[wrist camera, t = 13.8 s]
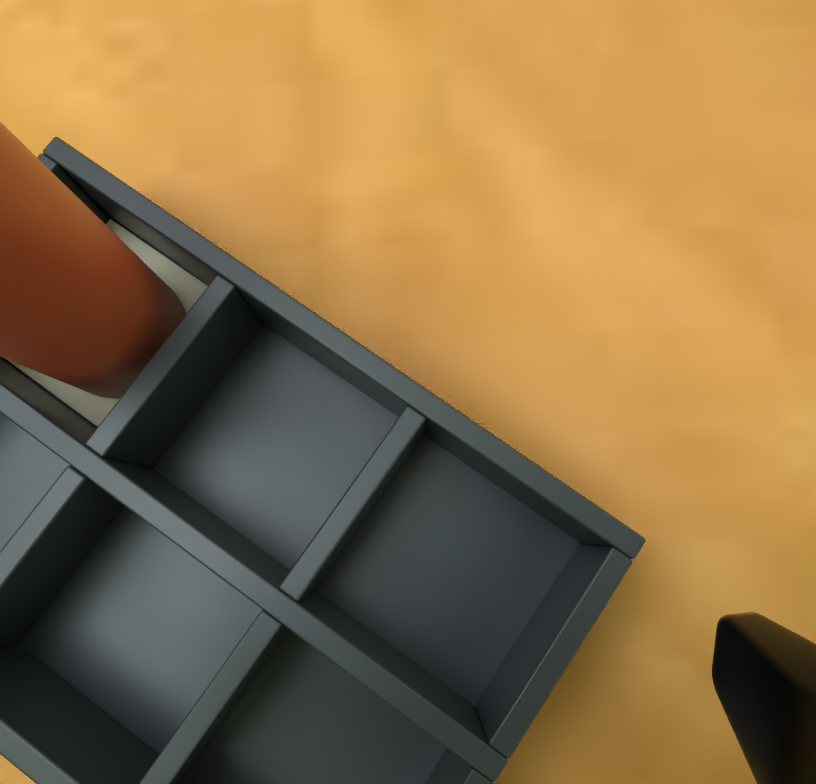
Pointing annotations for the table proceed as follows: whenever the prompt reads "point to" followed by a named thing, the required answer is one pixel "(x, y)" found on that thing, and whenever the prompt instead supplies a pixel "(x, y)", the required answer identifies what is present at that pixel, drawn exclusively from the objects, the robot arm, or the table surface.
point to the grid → (273, 552)
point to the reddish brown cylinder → (72, 284)
